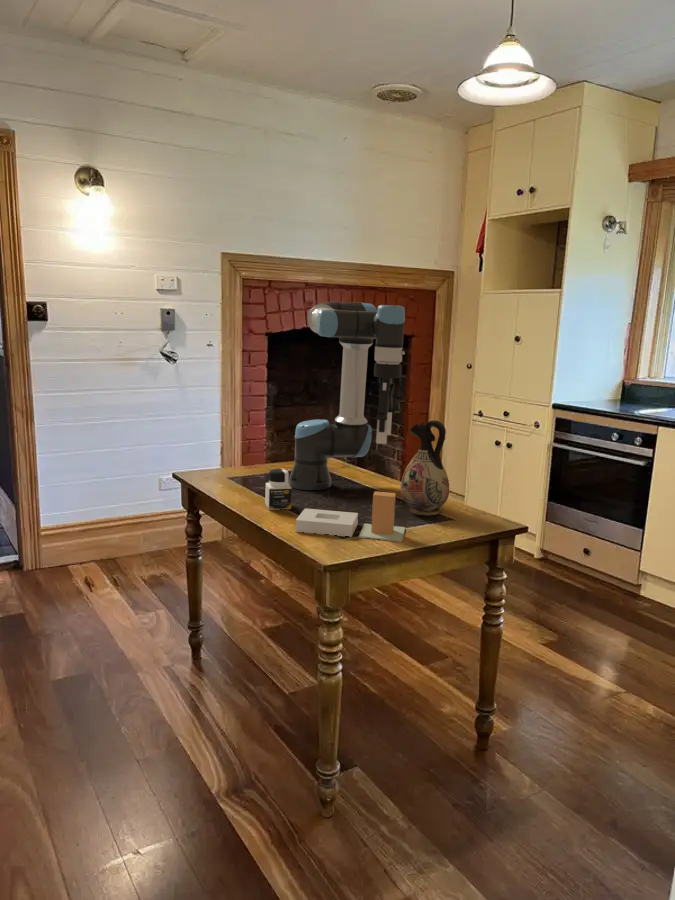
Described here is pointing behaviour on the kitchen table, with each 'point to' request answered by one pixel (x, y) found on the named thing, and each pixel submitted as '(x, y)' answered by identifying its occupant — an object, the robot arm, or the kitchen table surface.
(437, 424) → the ceramic jug
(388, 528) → the plug
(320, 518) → the socket housing
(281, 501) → the medicine bottle
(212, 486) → the kitchen table surface
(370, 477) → the kitchen table surface
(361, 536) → the mat
